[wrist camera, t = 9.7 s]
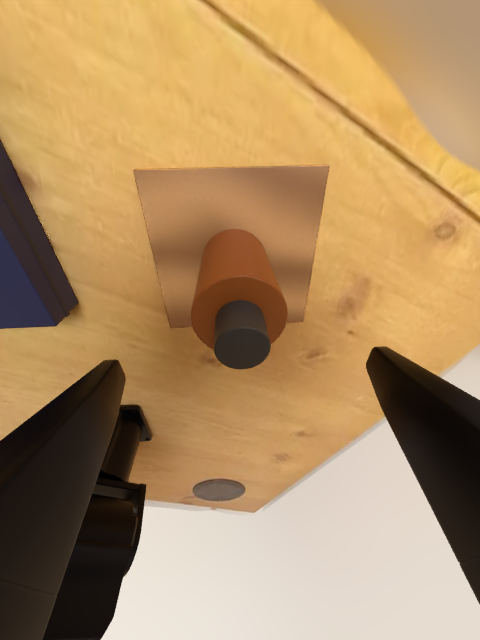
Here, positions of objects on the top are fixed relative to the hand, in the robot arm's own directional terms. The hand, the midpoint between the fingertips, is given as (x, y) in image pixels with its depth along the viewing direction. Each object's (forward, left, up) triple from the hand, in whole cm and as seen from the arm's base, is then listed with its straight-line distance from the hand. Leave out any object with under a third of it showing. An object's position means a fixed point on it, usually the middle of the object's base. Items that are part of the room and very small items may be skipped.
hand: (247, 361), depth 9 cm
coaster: (0, 0, -10) cm, 10 cm away
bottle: (0, 0, -10) cm, 10 cm away
